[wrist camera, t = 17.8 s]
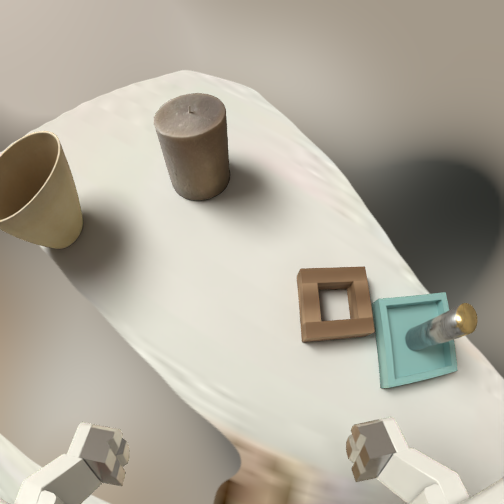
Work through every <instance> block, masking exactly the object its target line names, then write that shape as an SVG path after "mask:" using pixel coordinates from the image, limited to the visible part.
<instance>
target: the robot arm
mask: <svg viewBox="0 0 504 504" xmlns="http://www.w3.org/2000/svg"><path fill="white" fill-rule="evenodd" d="M351 432H352V435H350V436H349V437H348V439H347V442H346V452H347V456H348V459H349V460H350V461H352V462H353V463H354V464H353V466H352V472H353V475H354V478H355V481H356V482H360V481H365V480H369V479H373V478H377V479H378V480H379V481H380V482H381V483H383V484H384V485H385V486H386V487H388V488H389V489H390V490H391V491H392V492H394V493H395V494H396V495H397V496H399V497H400V498H401V499H402V500H404V501H405V502H406V503H408V504H504V477H503V478H502V479H500V480H499V481H497V482H496V483H494V484H492V485H491V486H489V487H488V488H486V489H484V490H483V491H481V492H479V493H478V494H476V495H474V496H472V497H471V498H470V497H469V495H468V493H467V491H466V489H465V487H464V485H463V483H462V481H461V479H460V477H459V475H458V473H456V472H454V471H453V470H451V469H449V468H447V467H445V466H444V465H442V464H440V463H438V462H436V461H435V460H433V459H431V458H430V457H428V456H426V455H424V454H423V453H421V452H419V451H418V450H416V449H414V448H409V446H408V444H407V442H406V440H405V438H404V436H403V434H402V432H401V430H400V428H399V426H398V424H397V422H396V420H395V418H393V417H388V418H384V419H380V420H379V419H378V420H374V421H369V422H365V423H360V424H355V425H354V426H352V429H351ZM122 436H123V433H122V432H121V430H120V429H116V428H110V427H104V426H99V425H95V424H90V423H85V422H82V423H81V424H80V425H79V426H78V428H77V431H76V433H75V435H74V438H73V440H72V443H71V445H70V448H69V450H68V453H67V454H62V455H61V456H59V457H58V458H56V459H55V460H53V461H52V462H50V463H49V464H48V465H46V466H45V467H43V468H42V469H40V470H39V471H37V472H35V473H34V474H32V475H31V476H29V477H28V478H26V479H25V480H24V481H23V483H22V485H21V488H20V490H19V493H18V495H17V498H16V501H15V503H14V504H81V503H82V502H83V501H84V500H85V499H87V498H88V497H89V496H90V495H91V494H92V493H93V492H94V491H95V490H96V489H97V488H98V487H99V486H100V485H101V484H102V483H107V484H112V485H118V486H123V482H124V478H125V474H126V472H125V470H124V468H123V467H124V466H125V465H126V464H128V461H129V452H130V450H129V445H128V443H127V441H126V440H124V439H123V438H122ZM101 482H102V483H101ZM0 504H9V503H8V502H6V501H4V500H2V499H0Z"/></svg>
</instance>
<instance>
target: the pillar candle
mask: <svg viewBox="0 0 504 504" xmlns="http://www.w3.org/2000/svg"><path fill="white" fill-rule="evenodd" d="M155 114H156V115H155V116H154V125H155V128H156V132H157V135H158V138H159V142H160V145H161V149H162V152H163V155H164V159H165V162H166V166H167V169H168V172H169V175H170V179H171V182H172V185H173V187H174V189H175V191H176V192H177V193H178V194H179V195H180V196H182V197H184V198H186V199H189V200H205V199H209V198H212V197H214V196H216V195H218V194H220V193H221V192H222V191H223V190H224V189H225V188H226V187H227V185H228V183H229V180H230V170H229V159H228V157H229V156H228V137H227V122H226V109H225V106H224V104H223V103H222V102H221V101H220V100H219V99H218V98H216V97H214V96H212V95H208V94H202V93H193V94H186V95H182V96H179V97H176V98H174V99H170V100H169V101H168V102H166V103H164V104H163V105H162V106H161V107H160V109H159V110H158V111H157V112H156V113H155Z"/></svg>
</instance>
